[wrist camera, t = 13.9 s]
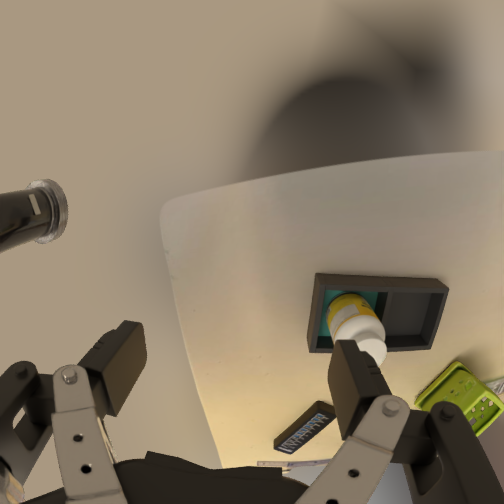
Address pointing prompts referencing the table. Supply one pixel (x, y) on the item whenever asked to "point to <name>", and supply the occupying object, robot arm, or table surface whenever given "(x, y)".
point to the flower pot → (463, 396)
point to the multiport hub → (305, 427)
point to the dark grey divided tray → (382, 309)
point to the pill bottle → (356, 324)
